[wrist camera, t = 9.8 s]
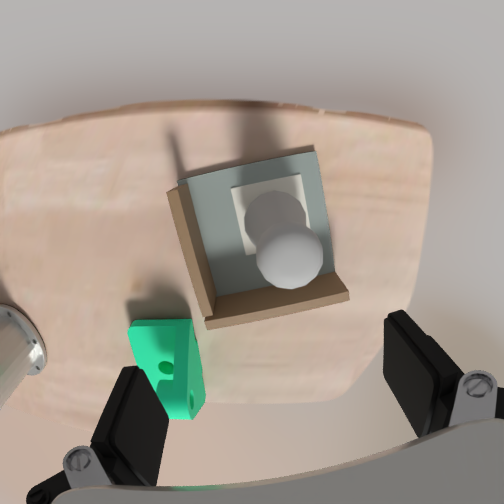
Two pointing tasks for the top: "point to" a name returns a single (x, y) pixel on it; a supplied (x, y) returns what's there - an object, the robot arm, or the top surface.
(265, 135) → the top surface
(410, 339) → the robot arm
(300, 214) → the salt shaker
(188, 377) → the camera mount
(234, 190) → the grey and wooden tray
